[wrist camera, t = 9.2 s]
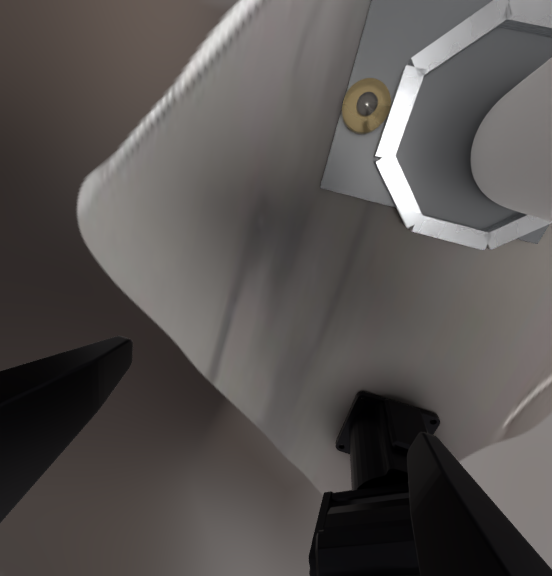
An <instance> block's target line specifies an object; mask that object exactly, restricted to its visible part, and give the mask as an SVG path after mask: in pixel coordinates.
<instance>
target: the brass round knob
mask: <svg viewBox="0 0 552 576" xmlns="http://www.w3.org/2000/svg"><path fill="white" fill-rule="evenodd" d="M390 106H391V96H390V92H389V90H388V88H387V86H386V85H385V84H384V83H383V82H382V81H380V80H378V79H375V78H365V79H362V80H359V81H358V82H356V83H355V84H353V85H352V86H351V87H350V89H349V90H348V91H347V93H346V95H345V97H344V100H343V106H342V118H343V121H344V124H345V125H346V127H347V128H348V129H349V130H350V131H352V132H354V133H356V134H367V133H370V132H372V131H374V130H375V129H376V128H378V127H379V126H380V125H381V124H382V123H383V122H384V120H385V119H386V117H387V115H388V113H389V110H390Z"/></svg>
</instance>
